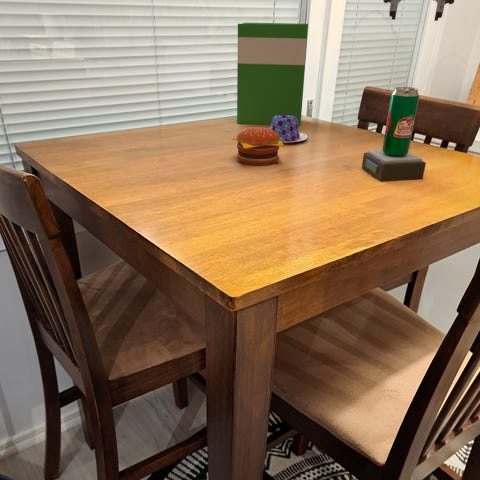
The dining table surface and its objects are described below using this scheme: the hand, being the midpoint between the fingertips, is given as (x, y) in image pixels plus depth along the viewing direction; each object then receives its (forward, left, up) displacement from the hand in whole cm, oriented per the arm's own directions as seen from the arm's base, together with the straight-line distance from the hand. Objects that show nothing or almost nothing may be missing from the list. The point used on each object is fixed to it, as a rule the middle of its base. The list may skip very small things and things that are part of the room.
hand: (415, 17), depth 102 cm
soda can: (+9, +17, -23) cm, 30 cm away
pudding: (+22, -14, -27) cm, 38 cm away
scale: (+9, +17, -27) cm, 33 cm away
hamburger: (+33, +3, -27) cm, 43 cm away
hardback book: (+20, -35, -27) cm, 48 cm away
